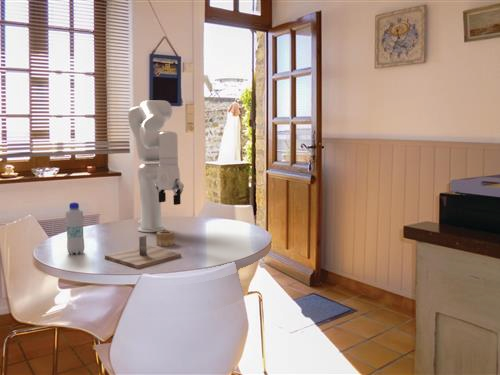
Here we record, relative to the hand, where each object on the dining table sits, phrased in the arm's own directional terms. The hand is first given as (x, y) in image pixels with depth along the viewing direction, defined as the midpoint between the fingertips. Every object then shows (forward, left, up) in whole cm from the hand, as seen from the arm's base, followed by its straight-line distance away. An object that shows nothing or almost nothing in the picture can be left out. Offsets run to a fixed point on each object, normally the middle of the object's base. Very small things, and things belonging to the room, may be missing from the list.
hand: (169, 203), depth 200 cm
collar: (-2, -1, -17) cm, 18 cm away
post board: (+8, -20, -17) cm, 28 cm away
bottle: (-17, -33, -18) cm, 41 cm away
